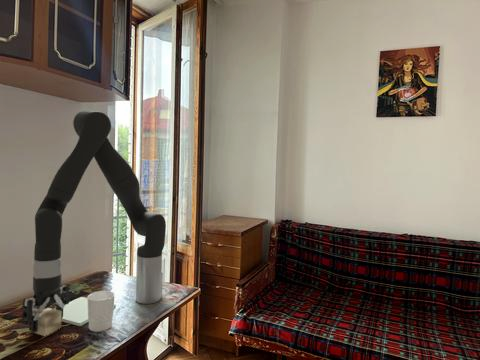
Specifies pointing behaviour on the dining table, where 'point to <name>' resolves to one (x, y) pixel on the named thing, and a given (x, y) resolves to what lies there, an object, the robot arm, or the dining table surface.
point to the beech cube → (48, 321)
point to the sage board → (76, 312)
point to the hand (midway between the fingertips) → (46, 325)
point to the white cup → (100, 310)
